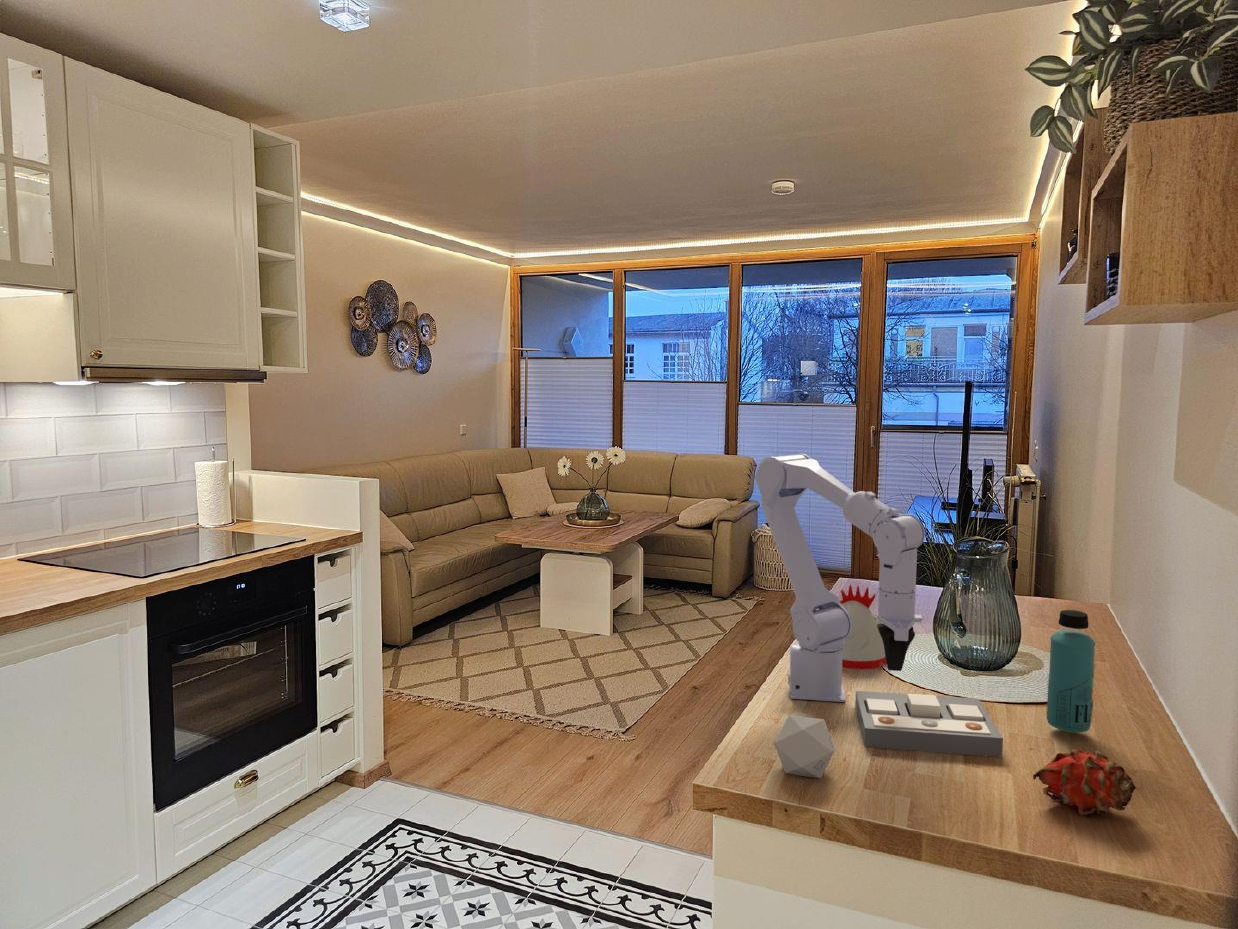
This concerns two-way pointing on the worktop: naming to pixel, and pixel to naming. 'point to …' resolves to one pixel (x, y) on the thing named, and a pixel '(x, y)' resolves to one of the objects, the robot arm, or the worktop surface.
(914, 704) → the middle button
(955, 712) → the right button
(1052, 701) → the beverage bottle
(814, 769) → the die
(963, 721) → the button board
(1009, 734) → the worktop surface
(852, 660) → the kitchen timer
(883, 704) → the left button
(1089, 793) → the dragon fruit
